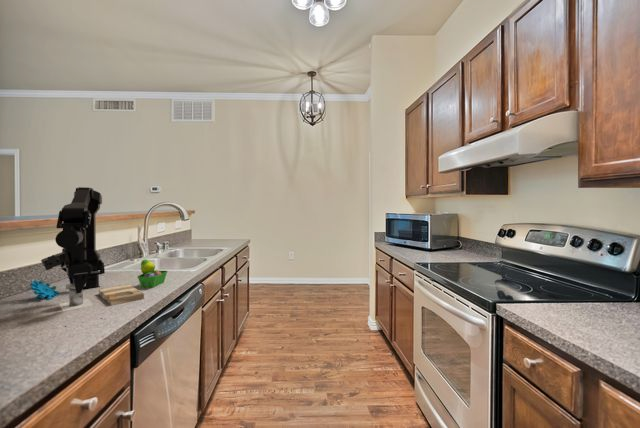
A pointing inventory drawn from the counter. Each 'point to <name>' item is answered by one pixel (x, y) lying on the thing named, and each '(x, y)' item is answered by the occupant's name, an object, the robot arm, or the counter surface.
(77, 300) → the peg
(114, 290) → the rail plate
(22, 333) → the counter surface
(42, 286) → the blue spiky lump
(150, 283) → the fruit basket
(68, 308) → the tab
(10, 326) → the counter surface
